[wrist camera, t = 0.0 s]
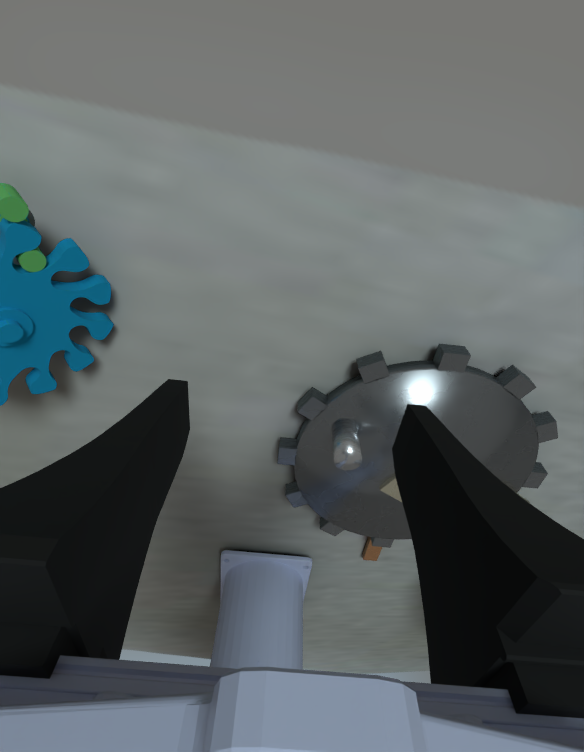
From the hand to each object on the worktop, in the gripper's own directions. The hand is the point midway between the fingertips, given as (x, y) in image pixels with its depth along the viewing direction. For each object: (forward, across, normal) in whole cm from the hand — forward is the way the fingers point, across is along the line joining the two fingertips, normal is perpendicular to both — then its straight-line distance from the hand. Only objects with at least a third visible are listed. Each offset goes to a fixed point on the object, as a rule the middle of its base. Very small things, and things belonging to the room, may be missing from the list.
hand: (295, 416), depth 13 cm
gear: (+12, +12, +2) cm, 16 cm away
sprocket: (+10, -9, +11) cm, 18 cm away
